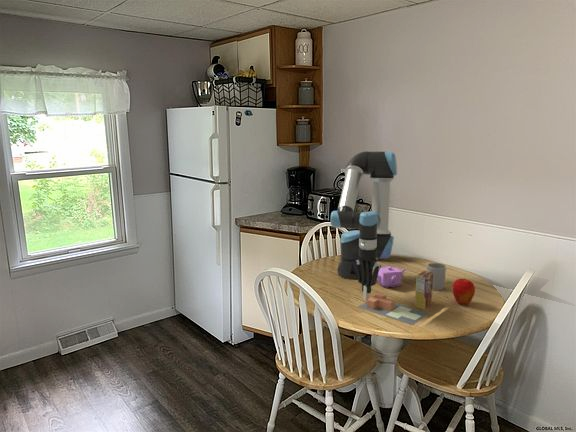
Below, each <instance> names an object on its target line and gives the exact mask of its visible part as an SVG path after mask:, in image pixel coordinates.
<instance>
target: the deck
mask: <svg viewBox="0 0 576 432" xmlns="http://www.w3.org/2000/svg"><path fill="white" fill-rule="evenodd" d="M357 308H359V309H360V310H361V309H362V310H364V311H368V312H371V313H374V314H377V315H380V316H382V317H386V318H389V319H392V320H395V321H398V322H401V323H404V324H408V325H411V326H413V325H415V324H416V323H417V322H419V321H420V320H422V319H423V318H425V317H427V316H428V315H430V312H427V311H425V310H419V308H418V309H417V308H415V307H411V306H407V305H404V304H401V303H397V302H395V305H394V309H393V310H391V311H388V310H385V309H382V308H378V307H377V308H376V309H374V310H373V309H370V308H367V301H366V302H364V303H362V304H360V305H358V306H357Z"/></svg>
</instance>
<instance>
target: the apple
mask: <svg viewBox="0 0 576 432" xmlns="http://www.w3.org/2000/svg"><path fill="white" fill-rule="evenodd" d="M475 291H476V287H475V285H474V283H473V282H472V281H471V280H470V279H467V278H458V279H456V280H454V282H453V284H452V294H453V297H454V300H455V301H456V302H457V303H458V304H459V305H461V306H464V305H465V306H466V305H468V304H469V303H470V302H471V301H472V299H473V298H474V296H475Z"/></svg>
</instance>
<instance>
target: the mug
mask: <svg viewBox="0 0 576 432" xmlns="http://www.w3.org/2000/svg"><path fill="white" fill-rule="evenodd" d="M426 268H427V269H426V271H431V272H433V291H442V290H445V285H446V269H447V266H446V265H445V264H442V263H436V262H431V263H428V264H427V266H426Z"/></svg>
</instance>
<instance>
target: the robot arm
mask: <svg viewBox="0 0 576 432" xmlns="http://www.w3.org/2000/svg"><path fill="white" fill-rule="evenodd" d="M397 174H398V166H397V158H396V154H395V153H394V151H393V152H392V151H367V150H364V151H361V152H359V153H357V154H355V155H354V156H353V157H352V158H350V160H349V161H348V162H347V164H346V165H345V169H344V175H345V178H344V181H343V186H342V190H341V195H340V197H339V198H340V199H339V203H338V206H337V210H333V211H331V213H330V225H331V226H332V227H334V228H340V229H358V230H347V231H345V232H343V233H342V234H341V237H340V261H339V263H338V267H337V270H336V271H337V273H336V275H337V274H338V275H339V276H338V275H337V276H338V277H340V276H341V277H340V278H342V277H344V279H347V278H348V280H357V282H358V283H359V284H361V292H363V293H362V294H363V295H362V300H364V301H367V299H369V298H370V294H371V292H372V286H376V283H377V276H378V272H379V270H380V268H381V267H382V265H380V264H378V263H377V262H378V261H377V260H376V258H378V259H389V258H390V257H391V255H392V250H393V246H394V239H395V238H394V237H395V236H393V235H392V231H390V229H389V218H390V217H389V215H390V195H391V182H392V181H393V180H394V177H395V176H397ZM365 175H367V176H368V175H370V176H369V177H370V180H371V181H372V200H371V211H355V207H356V203H357V199H358V194H359V189H360V183H361V179H363V177H364V176H365ZM372 270H374V271H372Z"/></svg>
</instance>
